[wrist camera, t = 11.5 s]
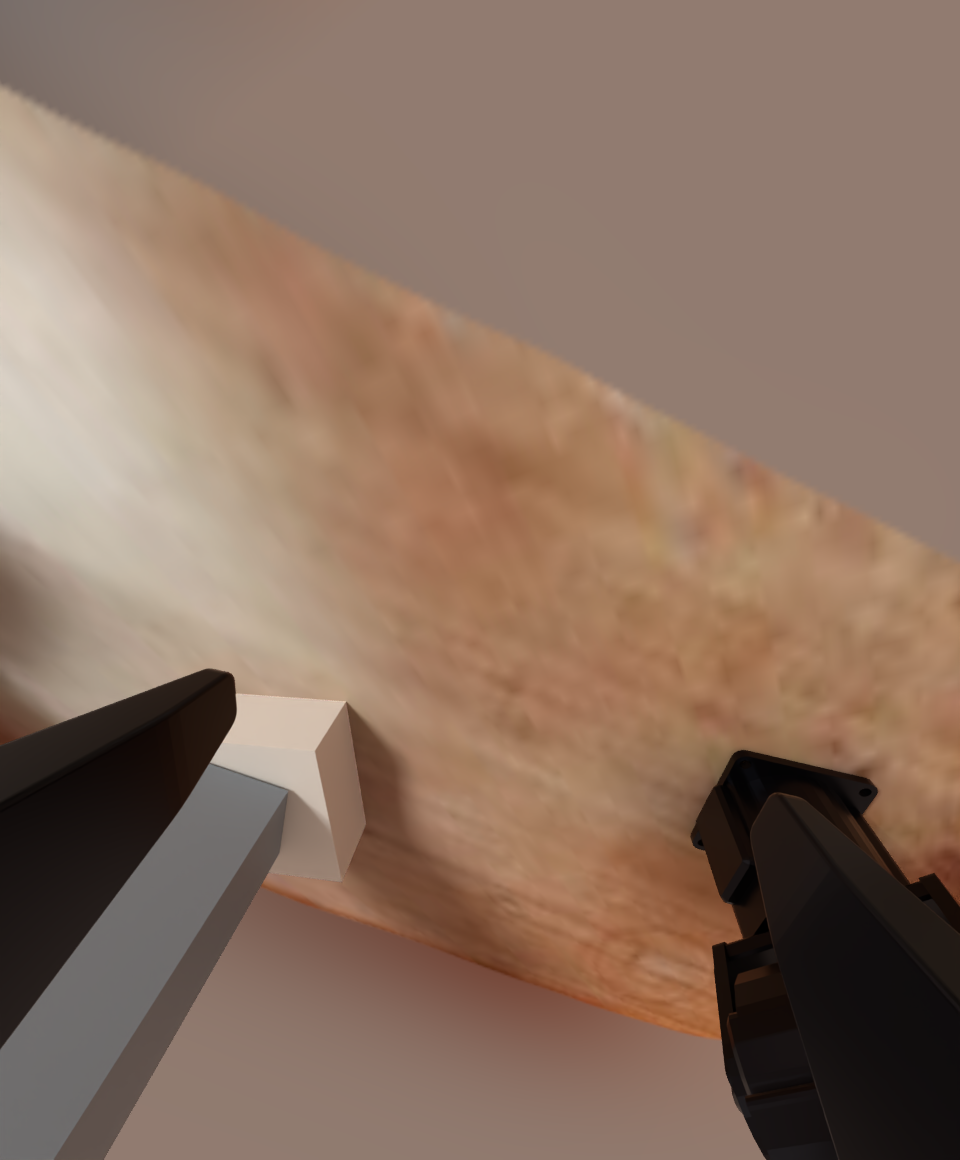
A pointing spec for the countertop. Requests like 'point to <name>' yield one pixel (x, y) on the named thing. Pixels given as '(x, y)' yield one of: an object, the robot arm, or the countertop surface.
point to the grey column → (137, 974)
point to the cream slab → (302, 777)
